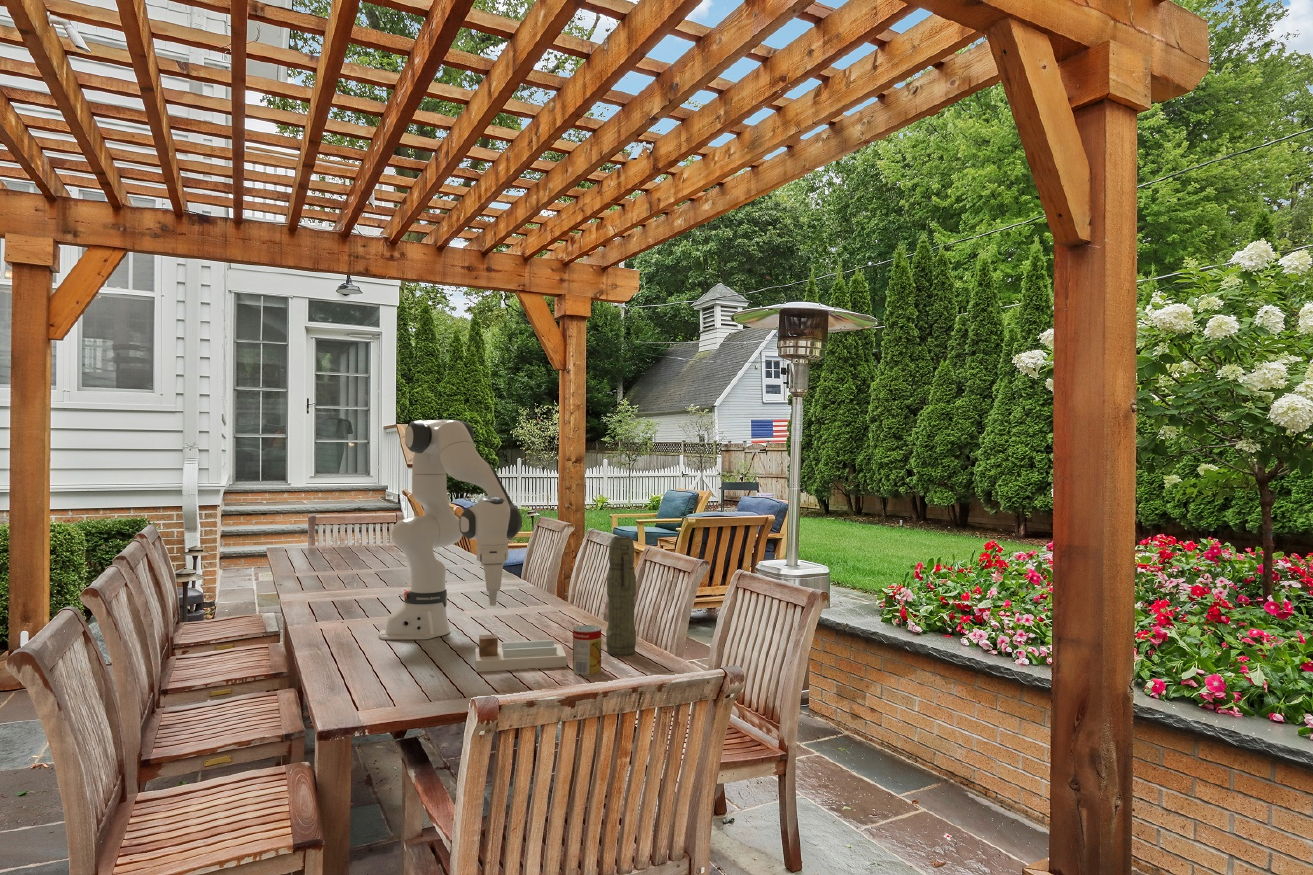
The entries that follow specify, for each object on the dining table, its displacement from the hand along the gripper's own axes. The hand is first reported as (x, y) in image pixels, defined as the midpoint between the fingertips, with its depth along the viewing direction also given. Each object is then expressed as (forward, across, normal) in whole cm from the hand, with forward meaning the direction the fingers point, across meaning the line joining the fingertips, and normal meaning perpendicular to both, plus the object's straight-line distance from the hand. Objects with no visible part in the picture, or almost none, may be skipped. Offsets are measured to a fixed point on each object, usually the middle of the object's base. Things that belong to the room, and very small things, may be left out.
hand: (492, 602), depth 232 cm
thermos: (+18, -5, +38) cm, 43 cm away
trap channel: (+18, 0, +8) cm, 19 cm away
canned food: (+18, +13, +25) cm, 34 cm away
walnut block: (+15, 0, -1) cm, 15 cm away
